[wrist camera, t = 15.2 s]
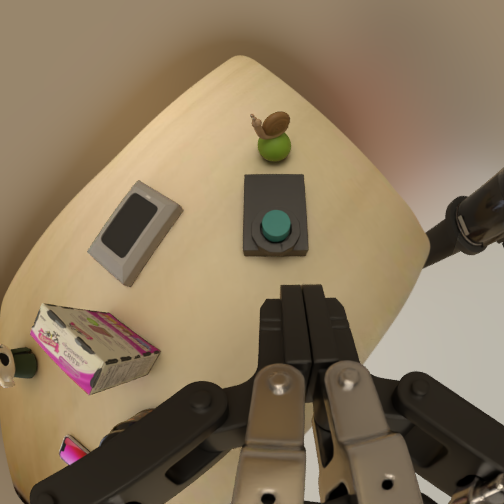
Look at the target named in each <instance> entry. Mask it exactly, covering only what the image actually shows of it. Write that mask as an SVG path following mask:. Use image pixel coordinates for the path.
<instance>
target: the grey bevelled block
mask: <svg viewBox="0 0 504 504" xmlns="http://www.w3.org/2000/svg"><path fill="white" fill-rule="evenodd" d="M182 212H183V209H182V207H181V206H180V205H179V204H177V203H176V202H174V201H172V200H171V199H169V198H167V197H166V196H164V195H162V194H161V193H159V192H158V191H156V190H154V189H153V188H151V187H149V186H148V185H146V184H144V183H143V182H141V181H139V180H138V181H137V182H136V183H135V184H134V185H133V187H132V188H131V189H130V191H129V192H128V193H127V195H126V196H125V197H124V199H123V200H122V201H121V203H120V204H119V205H118V207H117V208H116V209H115V211H114V212H113V214H112V215H111V216H110V218H109V219H108V221H107V222H106V224H105V225H104V227H103V228H102V230H101V231H100V232H99V234H98V235H97V237H96V239H95V240H94V242H93V243H92V245H91V246H90V248H89V249H88V251H87V252H88V253H89V254H90V255H91V256H92V257H93V258H94V259H95V260H96V261H97V262H99V263H100V264H101V265H102V266H103V267H104V268H105V269H106V270H107V271H109V272H110V273H111V274H112V275H113V276H114V277H115V278H117V279H118V280H119V281H120V282H121V283H122V284H123V285H126V286H129V287H131V286H132V284H133V283H134V281H135V279H136V278H137V276H138V275H139V273H140V272H141V270H142V269H143V267H144V266H145V264H146V263H147V261H148V260H149V258H150V257H151V255H152V254H153V253H154V251H155V250H156V248H157V247H158V245H159V244H160V242H161V241H162V240H163V238H164V237H165V235H166V234H167V232H168V231H169V230H170V228H171V227H172V226H173V224H174V223H175V221H176V220H177V219H178V217H179V216H180V215H181V213H182Z"/></svg>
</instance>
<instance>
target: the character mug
mask: <svg viewBox="0 0 504 504" xmlns="http://www.w3.org/2000/svg"><path fill="white" fill-rule="evenodd" d="M27 351H31V350H30V349H28V348H26V347H25V348H17V349H11V350H10V349H9V348H8V347H6V346H5V345H2V344H0V384H1V385H2V386H3V387H5V388H7V387H14V386H15V382H14V381H13V378H14V377H18V378H32V377H33V376H34V375H35V372H36V369H37V366H36V359H35V357H34V354H29V353H28V352H27Z"/></svg>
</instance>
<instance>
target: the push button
mask: <svg viewBox="0 0 504 504" xmlns="http://www.w3.org/2000/svg"><path fill="white" fill-rule="evenodd" d="M290 225H291V222H290V218H289V216H288V215H287V214H286V213H285V212H283V211H280V210H272V211H269V212H268V213H266V214H265V216H264V217H263V220H262V231H263V234H264V236H265V237H266V239H268V240H269V241H272V242H280V241H283V240H284V239H285V238H286V237H287V236H288V234H289V230H290Z"/></svg>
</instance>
